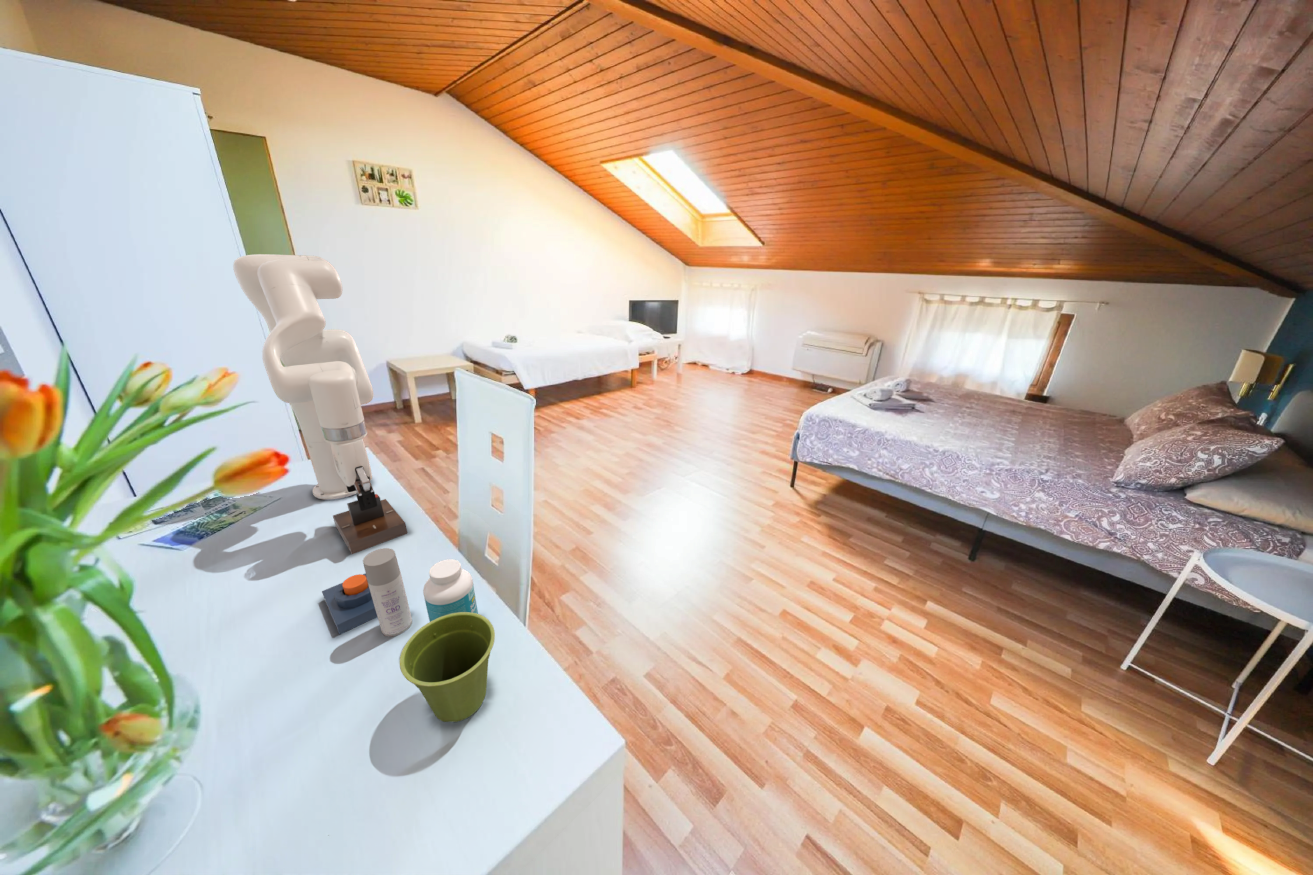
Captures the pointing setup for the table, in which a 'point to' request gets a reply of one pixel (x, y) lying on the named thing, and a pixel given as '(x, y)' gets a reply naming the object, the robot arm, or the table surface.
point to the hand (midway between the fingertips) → (362, 498)
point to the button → (355, 584)
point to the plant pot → (450, 663)
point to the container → (387, 591)
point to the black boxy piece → (365, 512)
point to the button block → (349, 607)
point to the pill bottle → (449, 590)
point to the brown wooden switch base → (370, 529)
